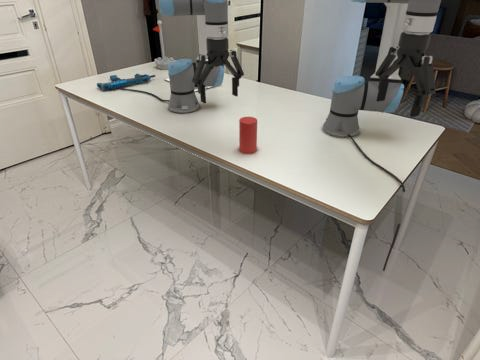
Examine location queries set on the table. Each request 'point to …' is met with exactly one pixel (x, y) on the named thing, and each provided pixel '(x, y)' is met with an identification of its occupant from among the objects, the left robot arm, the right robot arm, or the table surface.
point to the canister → (248, 135)
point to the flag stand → (165, 61)
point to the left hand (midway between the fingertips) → (219, 98)
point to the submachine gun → (123, 81)
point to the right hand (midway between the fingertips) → (396, 108)
